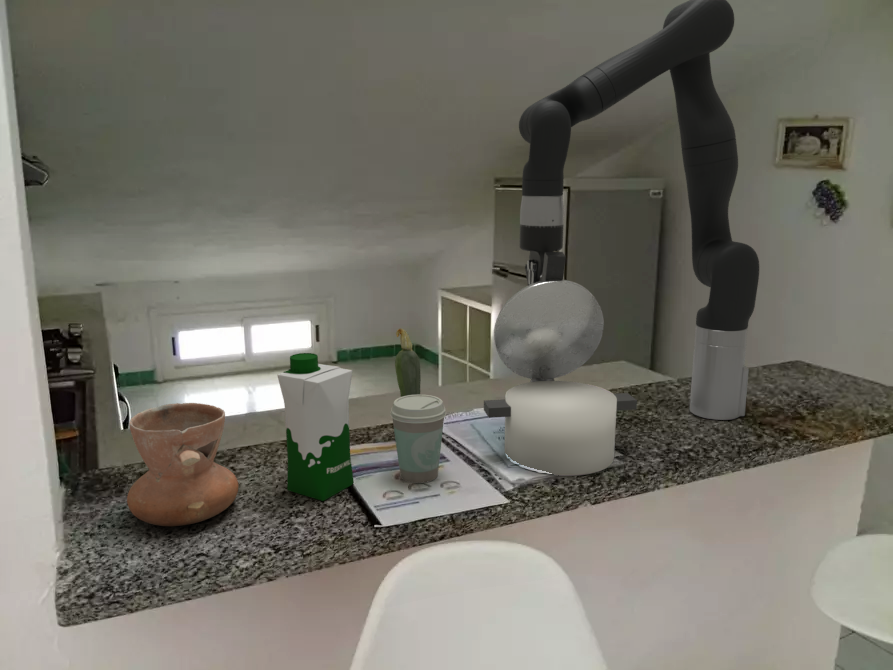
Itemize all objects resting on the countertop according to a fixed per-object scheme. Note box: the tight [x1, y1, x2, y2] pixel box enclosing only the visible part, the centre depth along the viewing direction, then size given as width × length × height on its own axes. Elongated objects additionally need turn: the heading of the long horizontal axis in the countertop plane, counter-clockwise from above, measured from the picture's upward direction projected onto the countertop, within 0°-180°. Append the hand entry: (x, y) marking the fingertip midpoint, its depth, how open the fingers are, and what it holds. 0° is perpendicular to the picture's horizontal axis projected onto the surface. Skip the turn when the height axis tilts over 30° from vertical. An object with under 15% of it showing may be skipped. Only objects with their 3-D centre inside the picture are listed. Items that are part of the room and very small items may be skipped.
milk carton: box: [277, 352, 355, 502], centre depth 106 cm, size 9×9×20 cm
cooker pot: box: [483, 380, 638, 477], centre depth 119 cm, size 25×18×10 cm
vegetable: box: [394, 328, 421, 397], centre depth 125 cm, size 4×4×20 cm
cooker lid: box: [493, 251, 605, 382], centre depth 123 cm, size 19×25×4 cm
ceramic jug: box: [126, 402, 239, 527], centre depth 99 cm, size 18×14×14 cm
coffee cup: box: [389, 394, 447, 484], centre depth 111 cm, size 8×8×12 cm
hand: (539, 319), depth 129 cm, fingers closed
